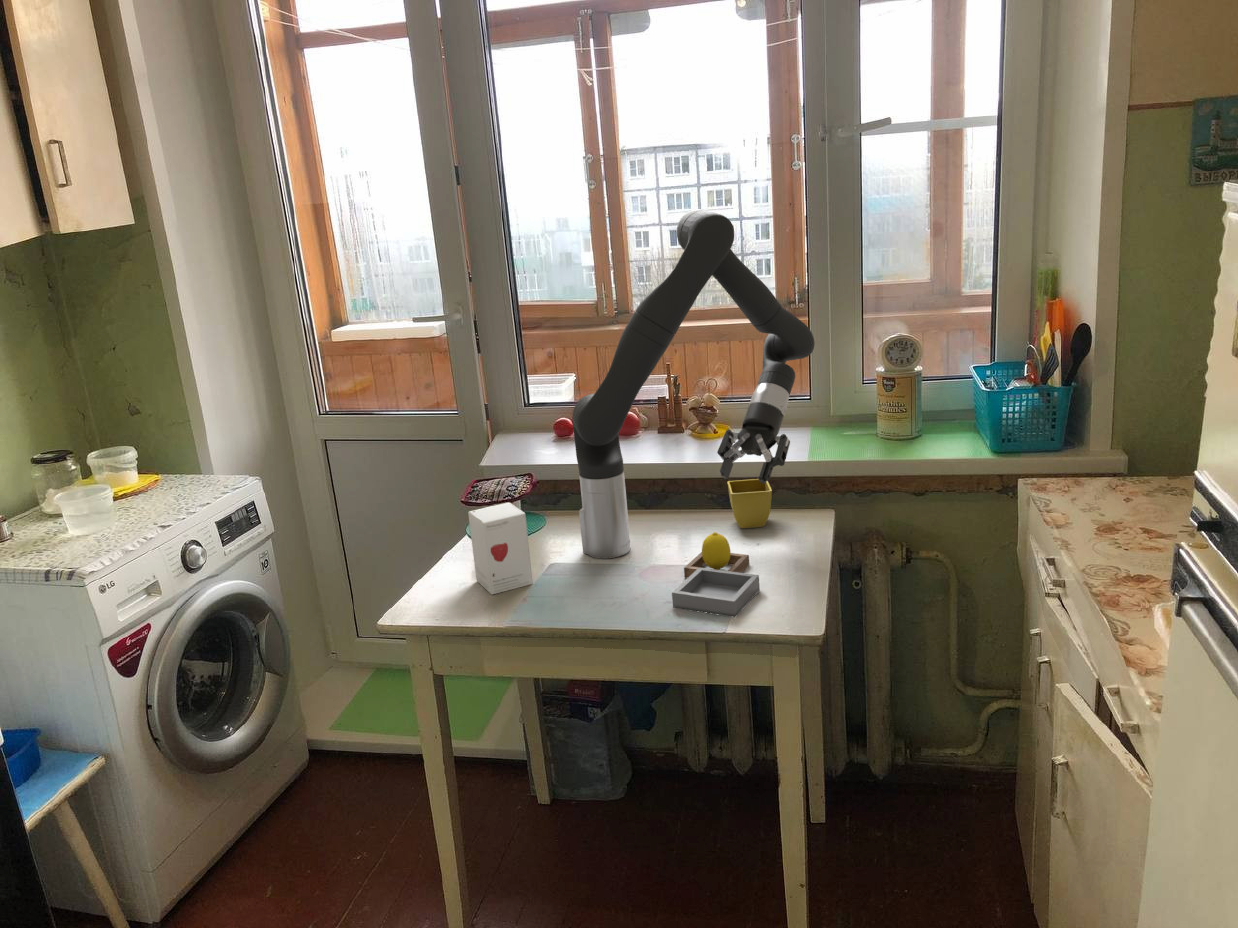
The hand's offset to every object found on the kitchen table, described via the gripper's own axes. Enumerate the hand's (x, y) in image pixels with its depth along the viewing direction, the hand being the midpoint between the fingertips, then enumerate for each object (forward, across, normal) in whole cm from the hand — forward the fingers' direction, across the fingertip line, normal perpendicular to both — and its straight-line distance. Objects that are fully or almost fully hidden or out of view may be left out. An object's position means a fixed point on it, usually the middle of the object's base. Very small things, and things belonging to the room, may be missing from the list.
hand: (742, 479), depth 192 cm
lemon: (+19, 0, +2) cm, 19 cm away
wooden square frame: (+19, 0, +2) cm, 19 cm away
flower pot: (+1, -6, +21) cm, 22 cm away
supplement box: (+35, -36, -14) cm, 52 cm away
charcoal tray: (+27, +6, -6) cm, 28 cm away
